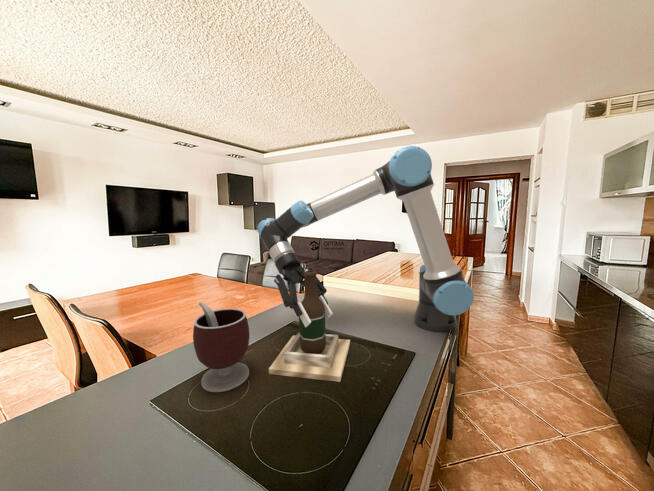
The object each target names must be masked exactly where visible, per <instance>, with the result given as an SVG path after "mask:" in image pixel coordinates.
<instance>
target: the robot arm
mask: <svg viewBox="0 0 654 491" xmlns="http://www.w3.org/2000/svg"><path fill="white" fill-rule="evenodd" d="M432 167H433V162H432V159H431V156H430V154H429V153H428V152H427V151H426V150H425V149H423V148H421V147H420V146H416V145H409V146H404V147H402V148H401V149H399V150H397V151H396V152H394V154H392V156H391V157H390V160H388V162H386V163H385V164H383V165H382V166H380V167H378V168H376V169H375V170H373V173H372V174H370V175H367V176H365V177H364V178H363V177H362V178H361V179H359V180H357V181H355V182H352V183H350V184H348V185H346V186H344V187H341V188H339V189H337V190H335V191H333V192H330V193H328V194H326V195H323V196H322V197H320V198H318V199H315V200H313V201H311V202H308V203H306V202H304V200H301V199H300V200H298V201H297V202H295V203H293V204H292V205H291V206H290V207H289V208H287V210H285V211H284V212H283V213H282V214H281V215H280V216H278V217H277V218H273V217H268V218H266V219H263V220H261V221H260V222H259V223H258V224H257V229H256V230H257V232H258V236H259V239H260V240H261V242H262V243H263V245H264V247H265V249H266V250H267V252H268V254H269V256H270V258H271V260H272V261H273V263H274V266H275V267H276V269H277V272H278V273H279V274H276V276H275V277H274V279H273V282H274V283H275V285H277V288H278V291H279V294H280V297H281V299H282V303H283V306H284V307H285V308H288V307H289V309H291V310H293V311H294V313H295V315H296V316H297V317H298V318H299V316H300V318H301V320H302V322H303V324H304V326H305V327H307V326H308V325H309V324H310V323H311V320H310V318H309V317H308V315H307V313H306V311H305V309H304V307H303V305H302V304H301V302H302V301H301V302H298V295H297V294H298V293H297V286H296V284H300V285H301V286H303V287H305V276H304V273H305V272H306V271H309V270H313V268H312V267H308V268H307V269H306V268H304V267H303V266H302V264H301V260H300V259H299V257H298V255H297V254H296V253H295V250H294V249H293V247H292V245H291V244H290V241H289V240H288V239H289V238H291V237H292V236H293V235H294V234H296V233H297V232H298V231H299V230H301V229H302V228H305V227H308V226H310V225H313V224H314V223H317V222H319V221H322V220H323V219H325V218H328V217H329V216H332V215H334V214H337V213H339V212H341V211H345V209H349V208H351V207H354V206H355V205H357V204H360V203H363V202H365V201H367V200H369V199H371V198H373V197H375V196H378V195H380V194H382V195H384V196H385V195H388V194H390V193H392V192H393V193H395V196H396V199H398V200H400V201H401V202H403V205H404V208H405V210H406V214H407V217H408V219H409V222H410V225H411V229H412V231H413V235H414V238H415V241H416V243H417V244H416V245H417V246H418V250H419V254H420V256H421V259H422V262H423V264H422V265H420V267H419V272H418V274H419V278H418V280H419V283H418V285H419V286H418V291H419V292H418V304H417V307H416V309H415V312H414V315H413V323H414V325H416V326H418V327H419V328H421V329H423V330H428V331H431V332H440V333H441V332H442V333H443V332H451V331H454V330H455V329H456V328H457V318H456V316H458V315H459V316H460V315H462V314H463V313H466V312H468V310H470V308H471V306H472V305H473V303H474V300H475V294H474V290H473V289H472V287H471V286H470V284H469V283H468V282H466V280H465V277H464V274H463V270H462V268H461V266H459V265H458V264H456V263H454V260H453V257H452V254H451V251H450V247H449V245H448V242H447V239H446V235H445V232H444V229H443V225H442V223H441V222H442V221H441V219H440V217H439V214H438V210H437V207H436V204H435V200H434V198H433V195H432V190H433V187H434V185H435V184H434V180H433V176H432ZM285 281H286V282H287V285H286V282H285ZM316 281H317V292H318V297H319V299H320V300H321V301H322V303H323V305H324V310H325V319H329V318H330V317H331V316H333V311H332V310H331V308H330V307H329V301H328V299H327V298H326V297H325V294H326V293H327V292H328V289H327V288H326V287H325V286H324V284H323V283H322V282H321V281H320V279H319V278H318V277H317V276H316Z"/></svg>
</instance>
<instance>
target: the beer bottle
mask: <svg viewBox="0 0 654 491" xmlns="http://www.w3.org/2000/svg"><path fill="white" fill-rule="evenodd" d="M317 275H318V273H317V271H316V270H313V269H312V270H309V271H306V272H305V273H304V276H305V286H304V294H303V295H304V296H303V297H304V298H303V299H302V301H301V304H302V305H303V307H304V309H305V311H306V313H307V315H308V317H309V318H310V320H311V323H310V324H309V325H308V326H307V327H305V326H304V324H303V322H302V320H301V318H300V316H299V317H298V327H299V328H298V329H299V331H298V332H300V348H301V350H302V351H303V352H304V353H310V354H318V353H321V352H323V350H324V348H325V345H326V336H325V334H326V316H325V310H324V305H323V303H322V301H321V300H320V299H319V297H318V294H319V293H318V292H317V281H316V277H317Z"/></svg>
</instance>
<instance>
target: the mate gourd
mask: <svg viewBox="0 0 654 491" xmlns="http://www.w3.org/2000/svg"><path fill="white" fill-rule="evenodd" d="M198 305H199V306H200V307H201V309H202V311H203V314H202V315H200V316H198V317H196V319H194V321H193V324H194V325H193V331H192V332H193V333H192V339H193V342H192V343H193V348H194V351H195V355H196V357H197V360H198V361H199V362H200V363H201V364H203V365H204V366H205V367H206V368H208V369H209V370H207V371H206V372H205V373H204V374H203V375H202V377H201V380H200V384H201V388H202V389H204V390H205V391H207V392H211V393H221V392H227V391H230V390H232V389H235V388H237V387H239V386H241V385H242V384H243V383H244V382H245V381H246V380H247V379H248V377H249V375H250V368H249V366H248V365H247V364H245V363H244V362H243V363H242V362H240V361H242V359H243V357H244V356H245V354H246V353H247V352H248V349H249V344H250V325H249V321H248V317H247V314H246V311H244V310H243V309H239V308H221V309H216V310H212V309H211V308H210V307H209V306H208V305H206V304H205V303H204V302H200V301H199V302H198Z"/></svg>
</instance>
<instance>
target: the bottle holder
mask: <svg viewBox="0 0 654 491" xmlns="http://www.w3.org/2000/svg"><path fill="white" fill-rule="evenodd" d="M325 336H326V345H325V348H324V350H323V352H321V353H318V354H310V353H304V352H303V351H302V350H301V348H300V332H299V331H298V332H297V334H296V335H292V336H291V337H290V339H289V340H288V342H287V343H286V344H285V345H284V347H283V348H282V350H281V351H280V353H279V354H278V355H277V357H276V358H275V359H274V361H273V362H272V364H271V365H270V366H269V367H268V374H269V375H276V376H284V377H293V378H302V379H311V380H319V381H329V382H338V383H341V381H342V378H343V377H342V376H343V373H344V369H345V366H346V362H347V357H348V354H349V350H350V346H351V339H346V338H345V339H344V338H339V334H329V333H328V334H327V333H325Z"/></svg>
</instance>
